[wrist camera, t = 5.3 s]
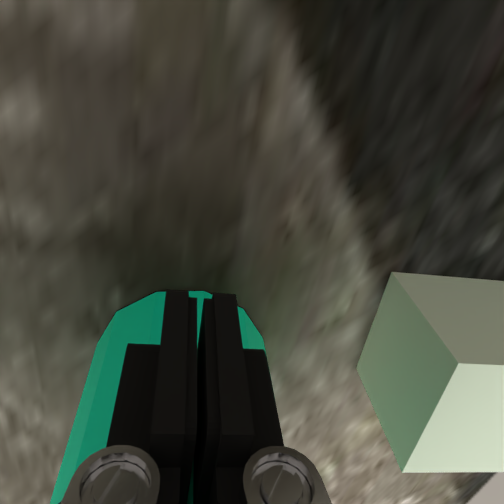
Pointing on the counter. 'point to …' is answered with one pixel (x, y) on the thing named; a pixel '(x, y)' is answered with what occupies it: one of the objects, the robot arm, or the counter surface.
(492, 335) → the sage block
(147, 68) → the counter surface
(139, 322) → the candle
